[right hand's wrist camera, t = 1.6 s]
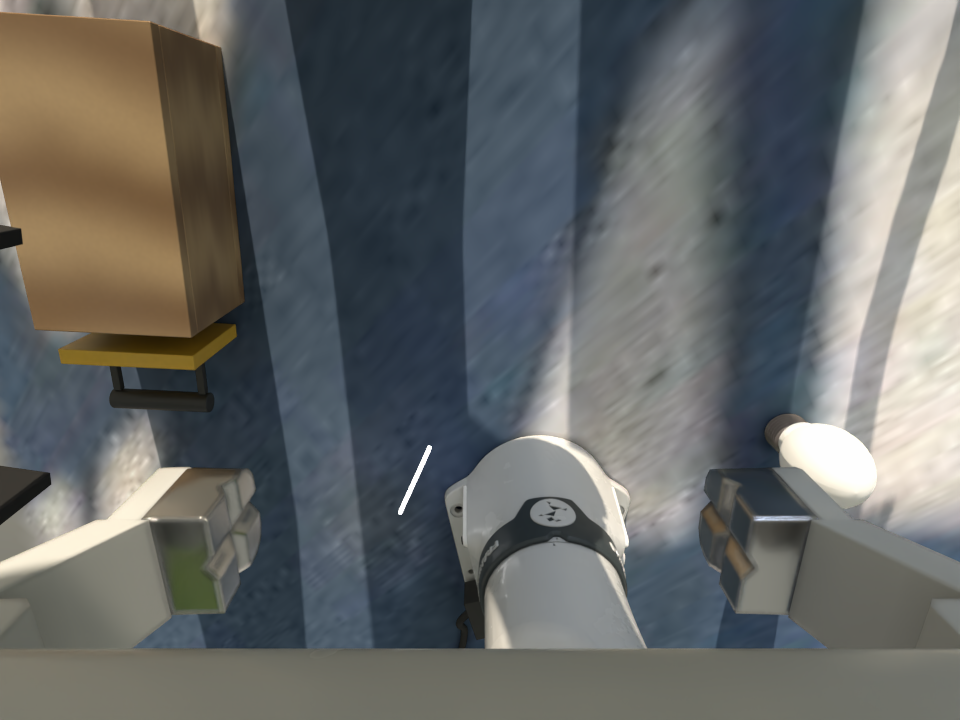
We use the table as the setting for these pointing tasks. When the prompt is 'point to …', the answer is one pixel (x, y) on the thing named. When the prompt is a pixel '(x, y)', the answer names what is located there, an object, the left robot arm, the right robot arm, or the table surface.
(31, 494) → the left robot arm
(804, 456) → the light bulb
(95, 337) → the drawer
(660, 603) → the table surface
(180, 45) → the wooden drawer cabinet
